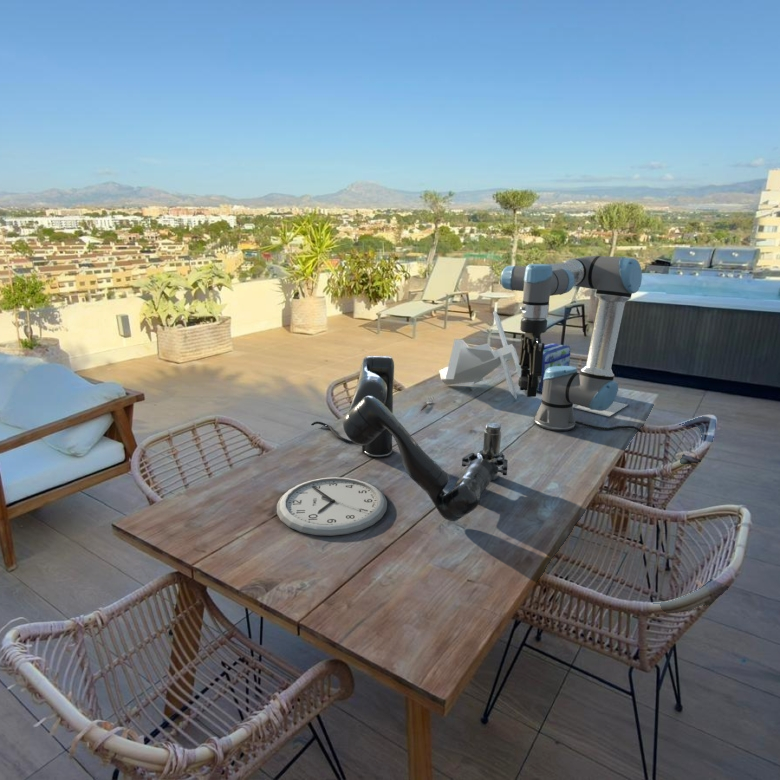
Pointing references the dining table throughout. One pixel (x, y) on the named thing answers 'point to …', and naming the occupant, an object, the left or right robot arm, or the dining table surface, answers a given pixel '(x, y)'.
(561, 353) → the lunch box
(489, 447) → the thermos
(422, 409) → the fork
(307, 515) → the wall clock
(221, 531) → the dining table surface
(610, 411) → the invitation card
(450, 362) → the white plastic object
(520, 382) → the lid
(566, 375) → the right robot arm
